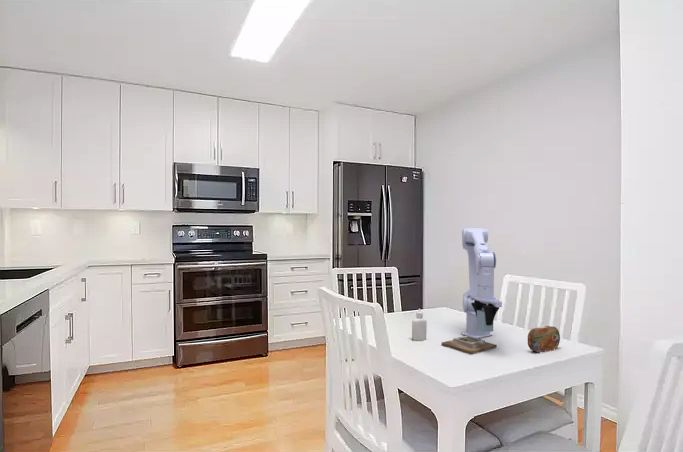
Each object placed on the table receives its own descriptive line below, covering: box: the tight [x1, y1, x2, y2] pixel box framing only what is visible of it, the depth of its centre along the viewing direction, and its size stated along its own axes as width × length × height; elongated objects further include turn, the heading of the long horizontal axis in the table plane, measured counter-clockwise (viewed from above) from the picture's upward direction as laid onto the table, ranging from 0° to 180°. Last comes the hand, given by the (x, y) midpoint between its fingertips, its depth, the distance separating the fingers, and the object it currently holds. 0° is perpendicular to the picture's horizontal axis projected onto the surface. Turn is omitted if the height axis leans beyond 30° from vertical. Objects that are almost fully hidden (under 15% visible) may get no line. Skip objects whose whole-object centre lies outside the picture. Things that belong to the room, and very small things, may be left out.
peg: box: [477, 308, 494, 333], centre depth 144 cm, size 4×4×8 cm
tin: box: [527, 325, 561, 354], centre depth 145 cm, size 15×3×8 cm, turn 117°
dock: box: [441, 335, 498, 355], centre depth 148 cm, size 15×13×2 cm
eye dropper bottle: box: [411, 308, 428, 342], centre depth 156 cm, size 4×6×12 cm
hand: (484, 323), depth 144 cm, fingers closed on peg, 4 cm apart
